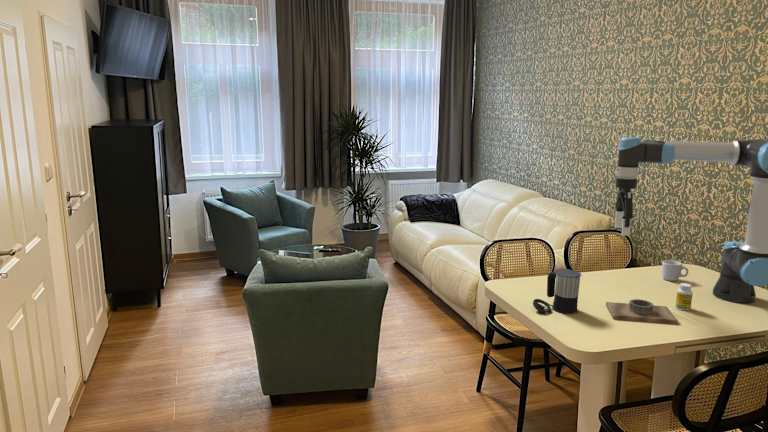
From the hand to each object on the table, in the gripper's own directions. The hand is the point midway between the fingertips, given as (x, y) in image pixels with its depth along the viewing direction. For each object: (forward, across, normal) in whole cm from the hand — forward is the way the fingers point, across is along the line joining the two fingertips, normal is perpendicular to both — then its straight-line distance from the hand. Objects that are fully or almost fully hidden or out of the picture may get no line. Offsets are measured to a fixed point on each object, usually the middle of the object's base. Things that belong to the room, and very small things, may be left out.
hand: (621, 231), depth 229 cm
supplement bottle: (+28, +5, +24) cm, 37 cm away
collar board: (+28, +16, +6) cm, 33 cm away
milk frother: (+28, +19, -25) cm, 42 cm away
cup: (+28, -32, +30) cm, 52 cm away
